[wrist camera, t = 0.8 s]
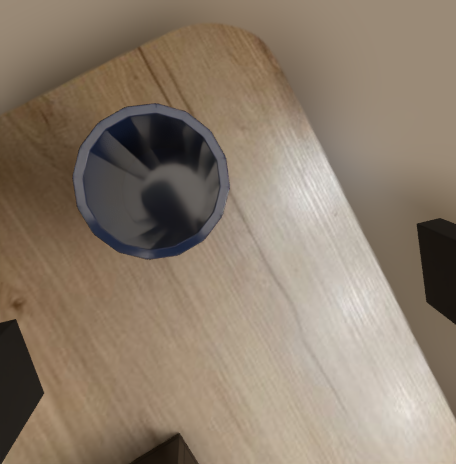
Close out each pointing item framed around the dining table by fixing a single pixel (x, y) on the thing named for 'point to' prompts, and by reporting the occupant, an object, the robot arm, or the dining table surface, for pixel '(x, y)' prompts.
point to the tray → (168, 453)
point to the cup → (151, 181)
